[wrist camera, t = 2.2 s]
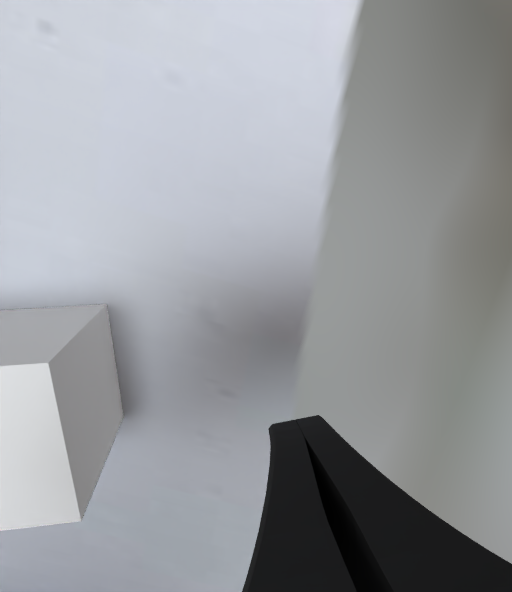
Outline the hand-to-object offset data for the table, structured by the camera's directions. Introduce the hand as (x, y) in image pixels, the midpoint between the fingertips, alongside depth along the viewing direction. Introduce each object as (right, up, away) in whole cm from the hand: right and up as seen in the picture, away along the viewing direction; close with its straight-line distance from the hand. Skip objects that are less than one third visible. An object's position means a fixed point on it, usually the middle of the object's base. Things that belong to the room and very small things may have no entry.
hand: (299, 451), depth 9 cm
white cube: (-11, +1, +8) cm, 13 cm away
